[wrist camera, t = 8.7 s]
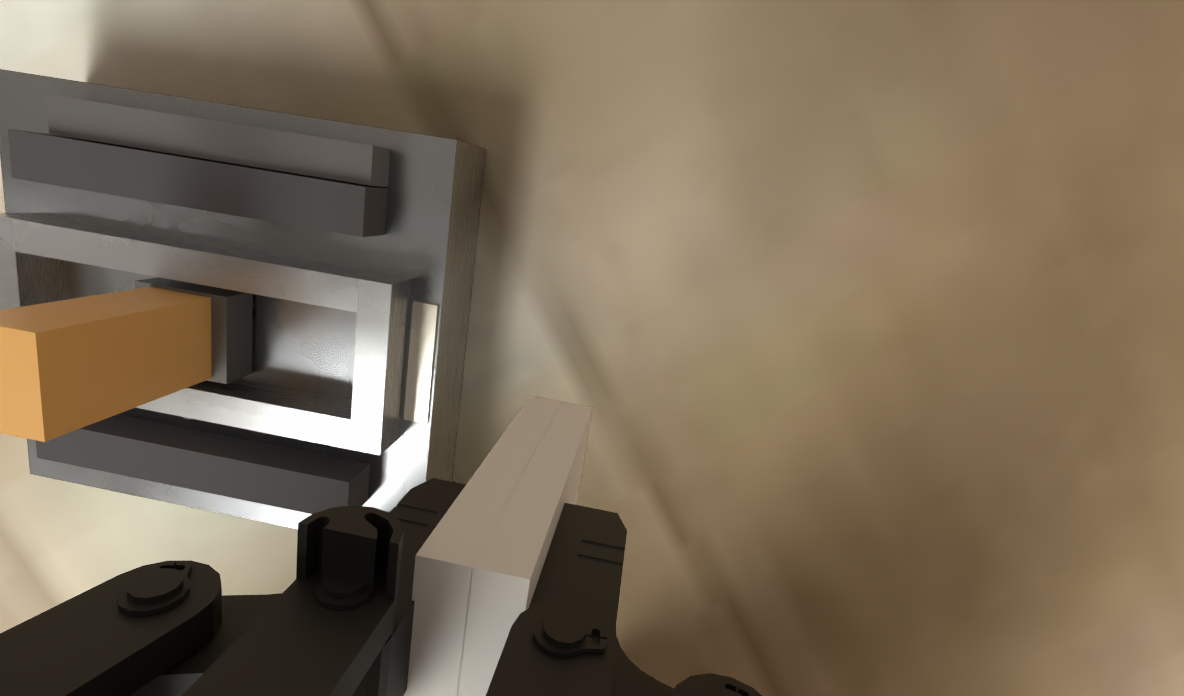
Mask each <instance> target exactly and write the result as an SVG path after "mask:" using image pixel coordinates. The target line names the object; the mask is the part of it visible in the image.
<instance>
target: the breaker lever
mask: <svg viewBox="0 0 1184 696" xmlns="http://www.w3.org/2000/svg"><path fill="white" fill-rule="evenodd" d="M252 324H253V294H250V293H245V292H239V291H234V290H228V289H222V288H217V287H211V286H205V285H200V284H194V283H189V282H183V281H177V280H172V279H166V278H161V277H158V278H151V279H144V280H137V281H135V289H132V290H125V291H119V292H113V293H106V294H100V295H93V296H87V297H81V298H74V299H68V300H61V301H55V302H48V303H42V304H36V305H29V306H23V307H16V308H10V309H4V310H0V433H2V434H7V435H12V436H17V437H22V438H27V439H32V440H37V441H42V442H46V441H49V440H51V439H54V438H57V437H59V436H62V435H64V434H67V433H70V432H72V431H75V430H78V429H80V428H83V427H85V426H88V425H91V424H93V423H96V422H98V421H101V420H104V419H106V418H109V417H112V416H114V415H117V414H119V413H122V412H125V411H127V410H130V409H133V408H135V407H138V406H140V405H143V404H146V403H148V402H151V401H153V400H156V399H159V398H161V397H164V396H167V395H169V394H172V393H174V392H177V391H180V390H182V389H185V388H187V387H190V386H193V385H195V384H198V383H201V382H203V381H206V380H208V381H213V382H218V383H223V384H228V383H230V382H233V381H235V380H238V379H240V378H243V377H245V376H247V375H250V374H252Z"/></svg>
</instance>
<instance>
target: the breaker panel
mask: <svg viewBox="0 0 1184 696" xmlns="http://www.w3.org/2000/svg"><path fill="white" fill-rule="evenodd" d="M46 94H49V95H55V96H61V97H68V98H74V99H81V100H87V101H93V102H100V103H106V104H112V105H119V106H125V107H132V108H138V109H144V110H151V111H157V112H163V113H170V114H176V115H183V116H189V117H195V118H202V119H208V120H214V121H221V122H227V123H234V124H240V125H246V126H253V127H259V128H265V129H272V130H278V131H285V132H291V133H297V134H304V135H310V136H316V137H323V138H329V139H336V140H342V141H348V142H355V143H361V144H367V145H374V146H378V147H383V148H387V149H390V162H389V177H388V187H383V186H375V187H381V188H387V189H388V193H387V208H386V224H385V235H379V236H369V237H359V236H353V235H347V234H341V233H335V232H329V231H323V230H317V229H311V228H305V227H299V226H293V225H288V224H282V223H276V222H270V221H264V220H258V219H252V218H246V217H240V216H234V215H228V214H222V213H216V212H210V211H205V210H199V209H193V208H187V207H181V206H175V205H169V204H163V203H157V202H151V201H145V200H139V199H133V198H127V197H122V196H116V195H110V194H104V193H98V192H92V191H86V190H80V189H74V188H68V187H62V186H56V185H50V184H44V183H38V182H33V181H27V180H21V179H15V178H12V173H11V161H10V150H9V139H8V129H12V130H20V131H29V132H37V133H45V134H49V127H48V114H47V100H46ZM54 135H55V134H54ZM60 136H61V135H60ZM66 137H68V136H66ZM72 138H74V137H72ZM79 139H80V138H79ZM85 140H86V139H85ZM91 141H92V140H91ZM97 142H98V141H97ZM103 143H105V142H103ZM110 144H111V143H110ZM116 145H117V144H116ZM122 146H123V145H122ZM128 147H129V146H128ZM134 148H135V147H134ZM140 149H142V148H140ZM147 150H148V149H147ZM153 151H154V150H153ZM159 152H160V151H159ZM165 153H166V152H165ZM171 154H173V153H171ZM485 154H486V149H483V148H480V147H477V146H474V145H471V144H468V143H465V142H462V141H459V140H454V139H448V138H441V137H435V136H429V135H422V134H416V133H409V132H403V131H396V130H390V129H383V128H377V127H370V126H364V125H357V124H351V123H344V122H338V121H331V120H325V119H318V118H312V117H306V116H299V115H293V114H286V113H280V112H273V111H267V110H260V109H254V108H247V107H241V106H234V105H228V104H221V103H215V102H208V101H202V100H196V99H189V98H183V97H176V96H170V95H163V94H157V93H150V92H144V91H137V90H131V89H124V88H118V87H111V86H105V85H98V84H92V83H86V82H79V81H73V80H66V79H60V78H53V77H47V76H40V75H34V74H27V73H21V72H14V71H8V70H1V69H0V157H1V168H2V178H3V189H4V200H5V210H6V213H0V310H4V309H10V308H16V307H23V306H29V305H36V304H42V303H48V302H55V301H61V300H68V299H74V298H81V297H87V296H93V295H100V294H106V293H113V292H119V291H125V290H132V289H135V281H137V280H144V279H151V278H158V277H161V278H166V279H172V280H177V281H183V282H189V283H194V284H200V285H205V286H211V287H217V288H222V289H228V290H234V291H239V292H245V293H250V294H253V324H252V374H250V375H247V376H245V377H243V378H240V379H238V380H235V381H233V382H230V383H228V384H223V383H218V382H213V381H208V380H206V381H203V382H201V383H198V384H195V385H193V386H190V387H187V388H185V389H182V390H180V391H177V392H174V393H172V394H169V395H167V396H164V397H161V398H159V399H156V400H153V401H151V402H148V403H146V404H143V405H140V406H138V407H135V408H133V409H130V410H127V411H125V412H122V413H119V415H124V416H129V417H134V418H139V419H144V420H149V421H155V422H160V423H165V424H170V425H175V426H180V427H185V428H190V429H195V430H200V431H205V432H210V433H215V434H221V435H226V436H231V437H236V438H241V439H246V440H251V441H256V442H261V443H266V444H271V445H276V446H281V447H286V448H292V449H297V450H302V451H307V452H312V453H317V454H322V455H327V456H332V457H337V458H342V459H347V460H352V461H358V462H363V463H368V464H370V472H369V487H368V501H367V502H366V503H365V504H364V505H363V506H367V507H375V508H377V509H380V510H383V511H386V512H390V511H391V510H392V509H393V508H394V507H397V504H398V502H399V501H400V500H401V499H402V498H403V497H404V496H405V495H406V494H407V492H408V491H409V490H410V489H411V488H413V487H415V486H417V485H420V484H422V483H424V482H426V481H428V480H430V479H432V478H435V479H440V480H445V481H450V482H452V473H453V464H454V454H455V444H456V435H457V425H458V415H459V406H460V396H461V386H462V376H463V367H464V357H465V347H466V338H467V328H468V318H469V309H470V299H471V289H472V280H473V270H474V260H475V250H476V241H477V231H478V221H479V212H480V202H481V192H482V183H483V173H484V163H485ZM177 155H179V154H177ZM184 156H185V155H184ZM190 157H191V156H190ZM196 158H197V157H196ZM202 159H203V158H202ZM208 160H210V159H208ZM214 161H216V160H214ZM221 162H222V161H221ZM227 163H228V162H227ZM233 164H234V163H233ZM239 165H240V164H239ZM245 166H247V165H245ZM252 167H253V166H252ZM258 168H259V167H258ZM264 169H265V168H264ZM270 170H271V169H270ZM276 171H277V170H276ZM282 172H284V171H282ZM289 173H290V172H289ZM295 174H296V173H295ZM301 175H302V174H301ZM307 176H308V175H307ZM313 177H315V176H313ZM319 178H321V177H319ZM326 179H327V178H326ZM332 180H333V179H332ZM338 181H339V180H338ZM344 182H345V181H344ZM350 183H352V182H350ZM356 184H358V183H356ZM363 185H364V184H363ZM369 186H370V185H369ZM27 445H28V456H29V466H30V474H33V475H38V476H43V477H48V478H53V479H57V480H62V481H67V482H72V483H77V484H81V485H86V486H91V487H96V488H101V489H106V490H110V491H115V492H120V493H125V494H130V495H135V496H139V497H144V498H149V499H154V500H159V501H164V502H168V503H173V504H178V505H183V506H188V507H193V508H197V509H202V510H207V511H212V512H217V513H221V514H226V515H231V516H236V517H241V518H246V519H250V520H255V521H260V522H265V523H270V524H275V525H279V526H284V527H289V528H294V529H298V523H299V522H300V521H302V520H304V519H305V518H307V517H308V516H310V515H312V514H309V513H304V512H299V511H294V510H289V509H284V508H280V507H275V506H270V505H265V504H260V503H255V502H250V501H245V500H241V499H236V498H231V497H226V496H221V495H216V494H211V493H206V492H201V491H197V490H192V489H187V488H182V487H177V486H172V485H167V484H162V483H158V482H153V481H148V480H143V479H138V478H133V477H128V476H123V475H118V474H114V473H109V472H104V471H99V470H94V469H89V468H84V467H79V466H75V465H70V464H65V463H60V462H55V461H50V460H45V459H40V458H37V451H36V440H32V439H27Z"/></svg>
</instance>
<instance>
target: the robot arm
mask: <svg viewBox="0 0 1184 696" xmlns="http://www.w3.org/2000/svg"><path fill="white" fill-rule="evenodd" d="M592 408H593V407H587V406H582V405H577V404H571V403H566V402H561V401H555V400H550V399H545V398H540V397H534V396H530V397H529V398H528V400H527V401H526V402H525V404H524V405H523V406H522V408H521V409H520V411H519V412H518V413H517V415H516V416H515V418H514V419H513V420H512V422H511V423H510V425H509V426H508V427H507V429H506V430H505V432H504V433H503V434H502V436H501V437H500V438H499V440H498V441H497V443H496V444H495V445H494V447H493V448H492V450H491V451H490V452H489V454H488V455H487V457H486V458H485V459H484V461H483V462H482V464H481V465H480V466H479V468H478V469H477V470H476V472H475V473H474V475H473V476H472V477H471V479H470V480H469V482H468V483H467V484H466V485H465V484H460V483H455V482H450V481H445V480H440V479H435V478H432V479H430V480H428V481H426V482H424V483H422V484H420V485H417V486H415V487H413V488H411V489H410V490H409V491H408V492H407V494H406V495H405V496H404V497H403V498H402V499H401V500H400V501H399V502H398V504H397V507H394V508H393V509H392V510H391V511H390V512H386V511H383V510H380V509H377V508H375V507H367V506H356V505H352V506H342V507H333V508H329V509H326V510H323V511H320V512H316V513H313V514H312V515H310V516H308V517H307V518H305V519H304V520H302V521H300V522H299V523H298V544H297V575H296V580H295V581H294V582H293V583H292V584H291V585H290V586H289V587H288V588H287V589H286V590H285V591H284V592H283V593H282V594H270V595H231V596H222V591H221V580H220V574H219V573H218V572H216V571H215V570H214V569H213V568H212V567H210V566H209V565H206V564H202V563H198V562H194V561H165V562H160V563H155V564H150V565H145V566H141V567H139V568H136V569H133V570H131V571H128V572H126V573H123V574H120V575H118V576H116V577H114V578H112V579H110V580H108V581H106V582H104V583H102V584H100V585H98V586H96V587H94V588H92V589H90V590H88V591H86V592H84V593H82V594H80V595H78V596H76V597H73V598H71V599H69V600H67V601H65V602H63V603H61V604H59V605H57V606H55V607H53V608H51V609H49V610H47V611H45V612H43V613H41V614H39V615H37V616H35V617H33V618H31V619H29V620H27V621H25V622H23V623H21V624H19V625H17V626H15V627H13V628H11V629H9V630H7V631H5V632H3V633H1V634H0V696H762V695H760V694H759V693H758V692H757V691H756V690H754V689H753V688H752V687H750V686H748V685H746V684H744V683H741V682H739V681H737V680H735V679H733V678H731V677H726V676H721V675H716V674H710V673H709V674H702V675H695V676H690V677H689V678H687V679H686V680H684V681H682V682H681V683H679V684H678V685H676V687H675V689H673V688H671V687H669V686H667V685H665V684H663V683H661V682H659V681H657V680H656V679H654V678H652V677H651V676H649V675H647V674H646V673H644V672H643V671H641V670H640V669H639V668H638V667H637V666H635V665H634V664H633V663H632V662H631V661H630V660H629V659H628V657H627V656H626V655H625V653H624V652H623V650H622V649H621V647H620V645H619V642H618V639H617V637H616V619H617V610H618V602H619V593H620V585H621V576H622V568H623V567H622V566H623V559H624V550H625V543H626V534H627V530H626V528H625V526H624V524H623V523H622V521H621V519H620V517H619V515H618V513H613V512H608V511H603V510H599V509H594V508H589V507H584V506H579V505H577V500H578V494H579V488H580V482H581V476H582V469H583V463H584V457H585V451H586V445H587V439H588V433H589V427H590V421H591V414H592Z"/></svg>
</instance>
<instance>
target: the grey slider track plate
mask: <svg viewBox="0 0 1184 696" xmlns="http://www.w3.org/2000/svg"><path fill="white" fill-rule="evenodd" d="M46 100H47V114H48V127H49V134H45V133H37V132H29V131H20V130H12V129H8V139H9V150H10V161H11V173H12V178H15V179H21V180H27V181H33V182H38V183H44V184H50V185H56V186H62V187H68V188H74V189H80V190H86V191H92V192H98V193H104V194H110V195H116V196H122V197H127V198H133V199H139V200H145V201H151V202H157V203H163V204H169V205H175V206H181V207H187V208H193V209H199V210H205V211H210V212H216V213H222V214H228V215H234V216H240V217H246V218H252V219H258V220H264V221H270V222H276V223H282V224H288V225H293V226H299V227H305V228H311V229H317V230H323V231H329V232H335V233H341V234H347V235H353V236H359V237H369V236H379V235H385V224H386V208H387V193H388V189H387V188H381V187H375V186H383V187H388V177H389V162H390V149H387V148H383V147H378V146H374V145H367V144H361V143H355V142H348V141H342V140H336V139H329V138H323V137H316V136H310V135H304V134H297V133H291V132H285V131H278V130H272V129H265V128H259V127H253V126H246V125H240V124H234V123H227V122H221V121H214V120H208V119H202V118H195V117H189V116H183V115H176V114H170V113H163V112H157V111H151V110H144V109H138V108H132V107H125V106H119V105H112V104H106V103H100V102H93V101H87V100H81V99H74V98H68V97H61V96H55V95H49V94H46ZM54 134H55V135H54ZM60 135H61V136H60ZM66 136H68V137H66ZM72 137H74V138H72ZM79 138H80V139H79ZM85 139H86V140H85ZM91 140H92V141H91ZM97 141H98V142H97ZM103 142H105V143H103ZM110 143H111V144H110ZM116 144H117V145H116ZM122 145H123V146H122ZM128 146H129V147H128ZM134 147H135V148H134ZM140 148H142V149H140ZM147 149H148V150H147ZM153 150H154V151H153ZM159 151H160V152H159ZM165 152H166V153H165ZM171 153H173V154H171ZM177 154H179V155H177ZM184 155H185V156H184ZM190 156H191V157H190ZM196 157H197V158H196ZM202 158H203V159H202ZM208 159H210V160H208ZM214 160H216V161H214ZM221 161H222V162H221ZM227 162H228V163H227ZM233 163H234V164H233ZM239 164H240V165H239ZM245 165H247V166H245ZM252 166H253V167H252ZM258 167H259V168H258ZM264 168H265V169H264ZM270 169H271V170H270ZM276 170H277V171H276ZM282 171H284V172H282ZM289 172H290V173H289ZM295 173H296V174H295ZM301 174H302V175H301ZM307 175H308V176H307ZM313 176H315V177H313ZM319 177H321V178H319ZM326 178H327V179H326ZM332 179H333V180H332ZM338 180H339V181H338ZM344 181H345V182H344ZM350 182H352V183H350ZM356 183H358V184H356ZM363 184H364V185H363ZM369 185H370V186H369ZM36 451H37V458H40V459H45V460H50V461H55V462H60V463H65V464H70V465H75V466H79V467H84V468H89V469H94V470H99V471H104V472H109V473H114V474H118V475H123V476H128V477H133V478H138V479H143V480H148V481H153V482H158V483H162V484H167V485H172V486H177V487H182V488H187V489H192V490H197V491H201V492H206V493H211V494H216V495H221V496H226V497H231V498H236V499H241V500H245V501H250V502H255V503H260V504H265V505H270V506H275V507H280V508H284V509H289V510H294V511H299V512H304V513H309V514H313V513H316V512H320V511H323V510H326V509H329V508H333V507H342V506H352V505H356V506H363V505H364V504H365V503H366V502H367V501H368V487H369V472H370V464H368V463H363V462H358V461H352V460H347V459H342V458H337V457H332V456H327V455H322V454H317V453H312V452H307V451H302V450H297V449H292V448H286V447H281V446H276V445H271V444H266V443H261V442H256V441H251V440H246V439H241V438H236V437H231V436H226V435H221V434H215V433H210V432H205V431H200V430H195V429H190V428H185V427H180V426H175V425H170V424H165V423H160V422H155V421H149V420H144V419H139V418H134V417H129V416H124V415H119V414H117V415H114V416H112V417H109V418H106V419H104V420H101V421H98V422H96V423H93V424H91V425H88V426H85V427H83V428H80V429H78V430H75V431H72V432H70V433H67V434H64V435H62V436H59V437H57V438H54V439H51V440H49V441H46V442H42V441H37V440H36Z"/></svg>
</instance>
